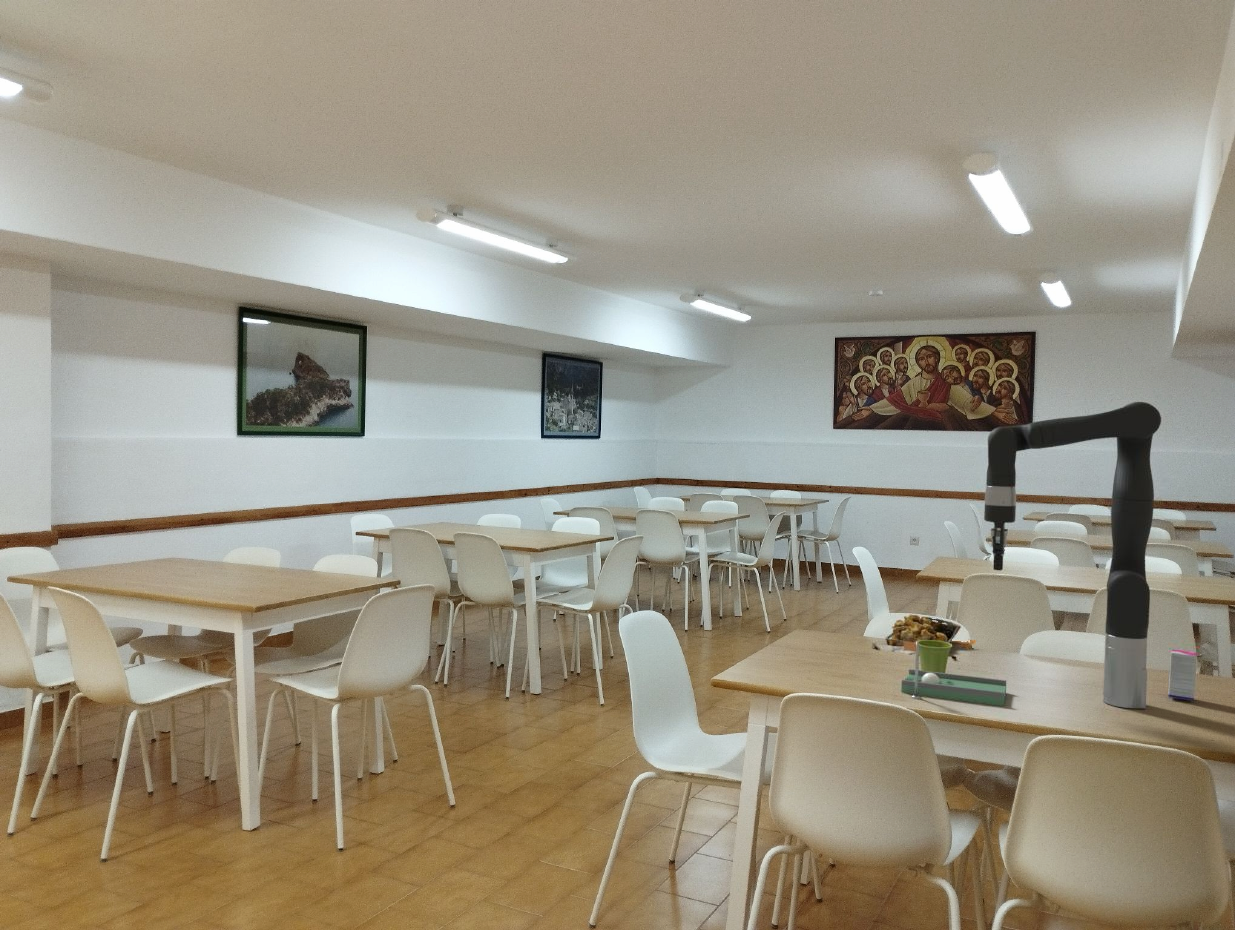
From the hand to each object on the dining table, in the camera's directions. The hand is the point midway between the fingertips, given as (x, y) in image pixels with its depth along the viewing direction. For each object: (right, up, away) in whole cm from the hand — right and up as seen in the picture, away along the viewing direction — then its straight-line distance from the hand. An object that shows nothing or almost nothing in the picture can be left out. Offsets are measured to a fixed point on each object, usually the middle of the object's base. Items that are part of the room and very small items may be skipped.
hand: (998, 569), depth 245 cm
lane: (-13, -31, -5) cm, 34 cm away
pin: (-25, -31, -11) cm, 41 cm away
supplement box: (+46, -32, -3) cm, 56 cm away
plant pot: (-12, -31, +14) cm, 36 cm away
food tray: (-2, -31, +53) cm, 61 cm away
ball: (-18, -29, -3) cm, 34 cm away
